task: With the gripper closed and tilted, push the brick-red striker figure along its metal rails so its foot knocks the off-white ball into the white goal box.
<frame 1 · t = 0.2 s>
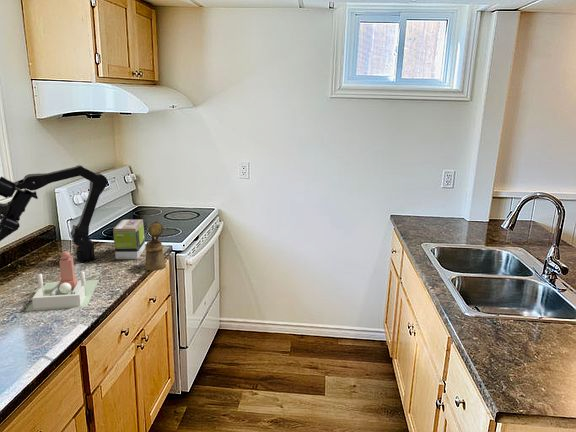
pitch: (69, 288, 164), on the worktop
goal: (61, 302, 153), resting on pitch
ball: (65, 288, 159), point 2 cm above the worktop, touching pitch
striker: (66, 269, 162), point 8 cm above the worktop, slide at 0.0 cm
brown pawn figure: (156, 265, 190), on the worktop
tea box: (131, 254, 202), on the worktop
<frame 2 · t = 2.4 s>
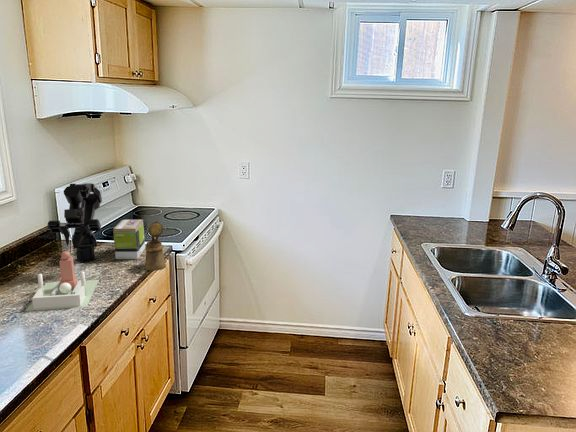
hand: (72, 244, 171), 14 cm above the worktop, tool tilted 45°, fingers open, 4 cm apart
nothing on the worktop moved.
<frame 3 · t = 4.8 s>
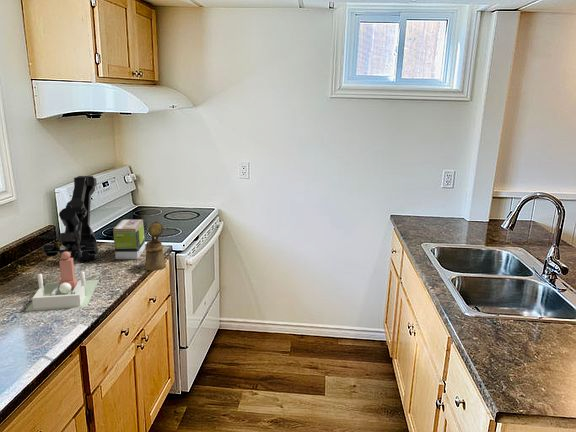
hand: (68, 269, 164), 7 cm above the worktop, tool tilted 45°, fingers closed, pressing on striker
striker: (66, 269, 162), point 8 cm above the worktop, slide at 0.1 cm, touching gripper
everything else where it was.
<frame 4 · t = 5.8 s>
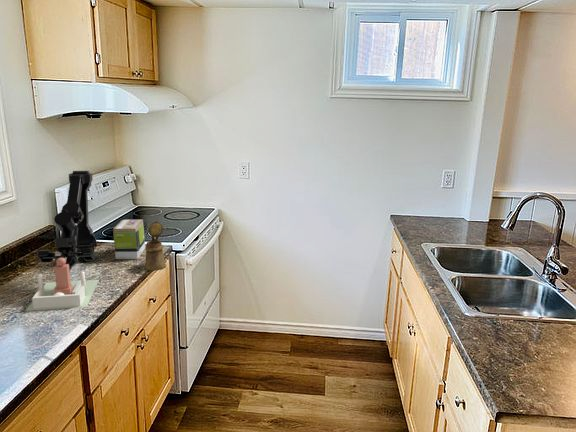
hand: (64, 276, 158), 7 cm above the worktop, tool tilted 45°, fingers closed, pressing on striker
ball: (59, 298, 151), point 2 cm above the worktop, tilted 122°, touching pitch
striker: (62, 276, 156), point 8 cm above the worktop, slide at 6.6 cm, touching gripper
everything else where it was.
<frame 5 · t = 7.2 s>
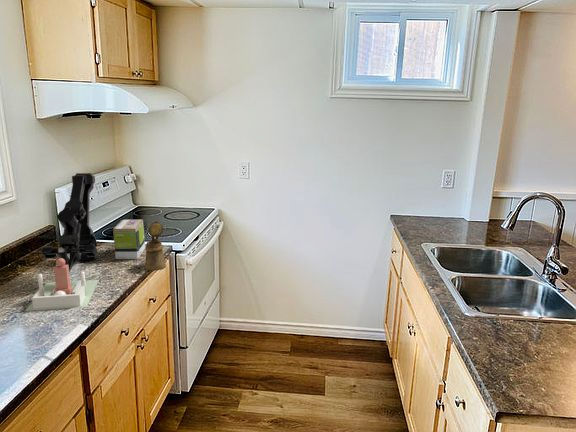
hand: (67, 272, 162), 7 cm above the worktop, tool tilted 45°, fingers closed
ball: (60, 296, 152), point 2 cm above the worktop, tilted 160°, touching pitch
striker: (61, 277, 155), point 8 cm above the worktop, slide at 7.2 cm
everything else where it was.
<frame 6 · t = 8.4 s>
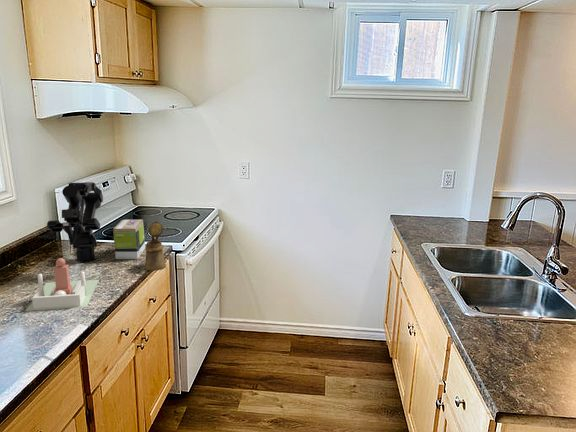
hand: (71, 244, 172), 14 cm above the worktop, tool tilted 40°, fingers closed
ball: (60, 296, 153), point 2 cm above the worktop, tilted 169°, touching pitch
everything else where it was.
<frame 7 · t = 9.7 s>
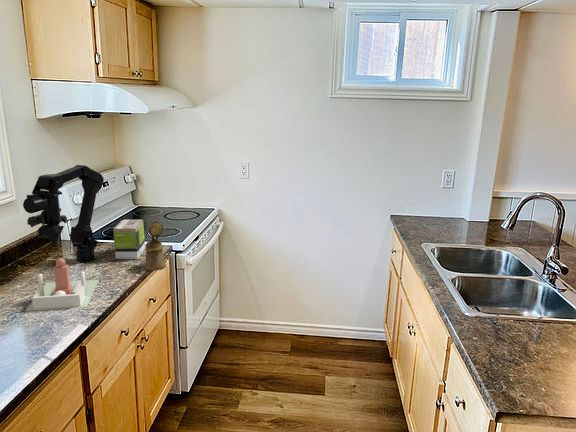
hand: (55, 245, 175), 12 cm above the worktop, tool pointing down, fingers closed
ball: (60, 296, 152), point 2 cm above the worktop, tilted 164°, touching pitch
everything else where it was.
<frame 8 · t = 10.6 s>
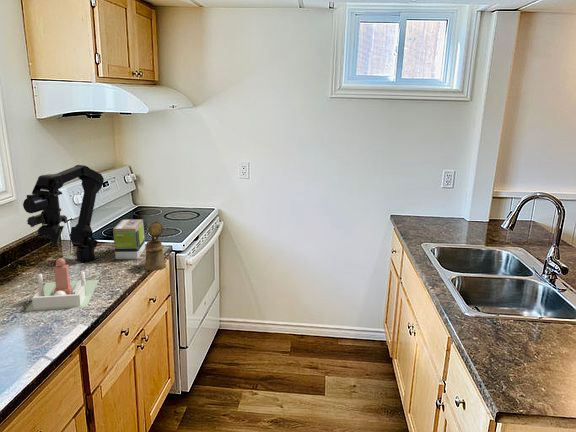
hand: (55, 245, 175), 12 cm above the worktop, tool pointing down, fingers closed
nothing on the worktop moved.
at the end: ball 0.4 cm from the goal (horizontally); striker slide at 7.2 cm; ball point 2.4 cm above the worktop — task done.
